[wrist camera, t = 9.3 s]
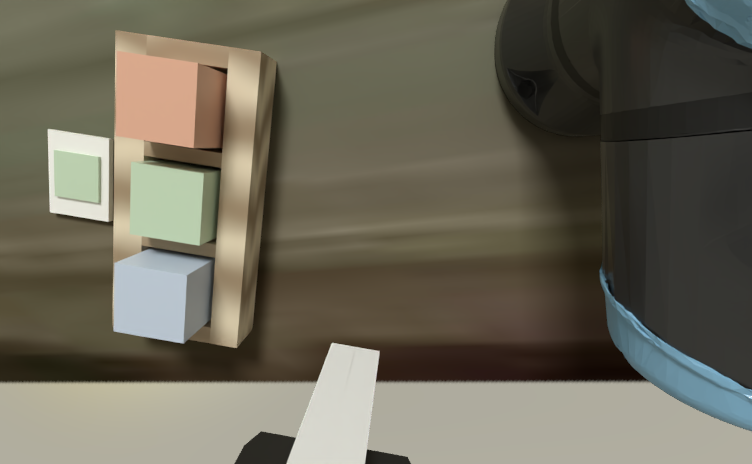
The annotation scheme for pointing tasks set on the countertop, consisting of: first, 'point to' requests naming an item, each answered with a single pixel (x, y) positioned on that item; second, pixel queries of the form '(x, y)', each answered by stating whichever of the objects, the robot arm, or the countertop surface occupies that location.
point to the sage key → (174, 201)
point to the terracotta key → (169, 101)
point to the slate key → (163, 294)
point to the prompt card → (81, 175)
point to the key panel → (237, 184)
